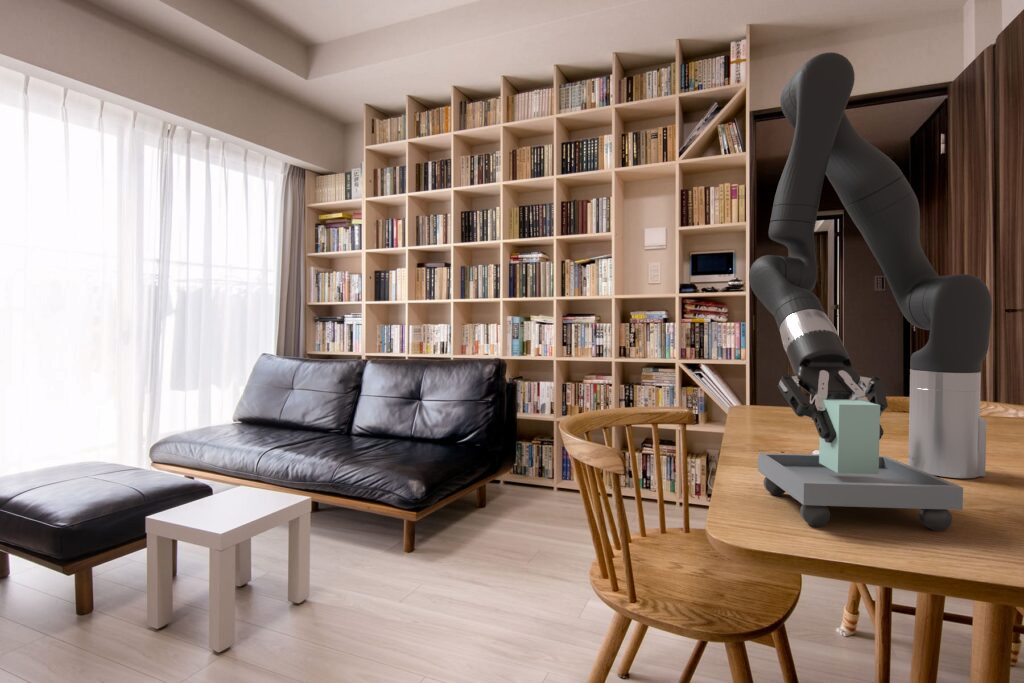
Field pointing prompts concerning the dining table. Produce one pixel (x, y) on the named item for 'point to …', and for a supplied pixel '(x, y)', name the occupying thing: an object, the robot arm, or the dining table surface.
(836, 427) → the sage part block
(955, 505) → the grey shallow tray
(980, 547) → the dining table surface
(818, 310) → the robot arm
